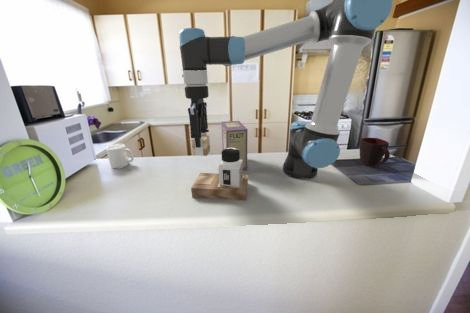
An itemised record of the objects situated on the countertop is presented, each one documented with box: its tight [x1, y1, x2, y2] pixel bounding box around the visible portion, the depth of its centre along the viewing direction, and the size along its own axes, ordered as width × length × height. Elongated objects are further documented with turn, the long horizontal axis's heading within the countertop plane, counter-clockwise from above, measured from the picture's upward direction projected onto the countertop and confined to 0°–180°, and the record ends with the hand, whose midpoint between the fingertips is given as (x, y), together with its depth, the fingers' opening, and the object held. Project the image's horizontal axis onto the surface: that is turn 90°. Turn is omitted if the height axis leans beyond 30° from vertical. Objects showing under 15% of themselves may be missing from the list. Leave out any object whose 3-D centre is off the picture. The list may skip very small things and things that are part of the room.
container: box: [217, 148, 244, 187], centre depth 75 cm, size 8×8×13 cm
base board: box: [190, 172, 249, 201], centre depth 78 cm, size 20×12×4 cm, turn 83°
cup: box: [105, 143, 134, 169], centre depth 100 cm, size 8×12×10 cm
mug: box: [359, 137, 391, 168], centre depth 94 cm, size 10×14×12 cm
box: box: [220, 120, 249, 172], centre depth 97 cm, size 17×9×20 cm, turn 11°
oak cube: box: [191, 134, 211, 157], centre depth 73 cm, size 5×5×6 cm
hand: (201, 152), depth 74 cm, fingers closed on oak cube, 5 cm apart
